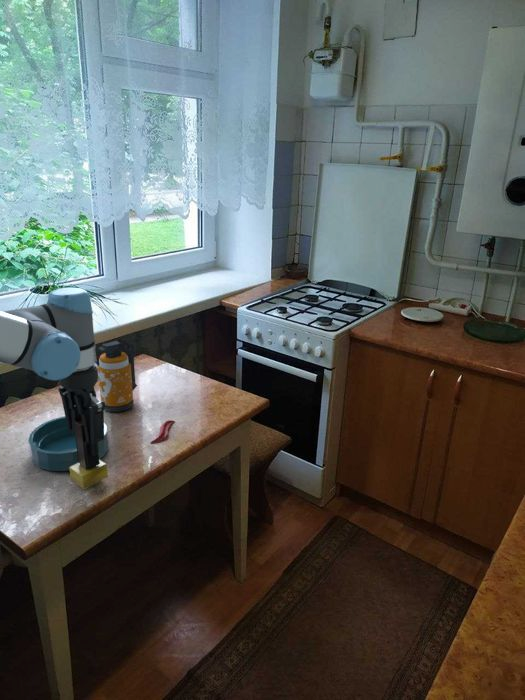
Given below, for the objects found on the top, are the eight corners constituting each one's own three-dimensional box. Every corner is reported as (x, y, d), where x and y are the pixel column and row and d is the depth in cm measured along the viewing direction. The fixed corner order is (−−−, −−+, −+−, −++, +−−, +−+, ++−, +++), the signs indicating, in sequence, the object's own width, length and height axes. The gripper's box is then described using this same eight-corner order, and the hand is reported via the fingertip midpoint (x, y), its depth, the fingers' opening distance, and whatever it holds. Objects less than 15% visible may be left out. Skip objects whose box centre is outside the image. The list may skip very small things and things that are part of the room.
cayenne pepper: (157, 445, 125) (157, 439, 124) (142, 440, 127) (142, 434, 126) (184, 424, 135) (184, 418, 134) (170, 420, 137) (170, 414, 136)
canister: (95, 406, 143) (88, 341, 136) (127, 394, 151) (123, 332, 144) (113, 417, 138) (107, 350, 130) (145, 403, 146) (142, 340, 138)
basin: (58, 483, 110) (55, 462, 108) (17, 454, 119) (14, 434, 117) (123, 450, 123) (121, 431, 121) (82, 426, 133) (80, 408, 130)
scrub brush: (84, 489, 106) (76, 431, 101) (70, 480, 109) (63, 422, 103) (107, 476, 110) (102, 420, 105) (94, 468, 113) (88, 412, 108)
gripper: (116, 369, 98) (125, 469, 107) (72, 350, 107) (83, 443, 116) (83, 381, 93) (95, 485, 101) (39, 360, 101) (53, 457, 110)
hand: (89, 463), depth 108 cm, fingers closed on scrub brush, 2 cm apart
